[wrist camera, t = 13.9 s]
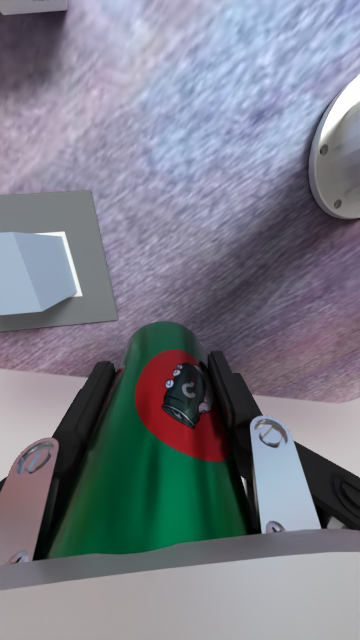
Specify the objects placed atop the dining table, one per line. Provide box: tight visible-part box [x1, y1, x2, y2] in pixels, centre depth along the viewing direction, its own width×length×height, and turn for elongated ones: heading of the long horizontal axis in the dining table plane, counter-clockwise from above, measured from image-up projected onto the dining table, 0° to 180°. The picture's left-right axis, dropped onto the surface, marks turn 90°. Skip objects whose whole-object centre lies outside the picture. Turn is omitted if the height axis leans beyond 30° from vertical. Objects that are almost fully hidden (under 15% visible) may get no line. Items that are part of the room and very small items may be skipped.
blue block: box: [0, 232, 77, 315], centre depth 17 cm, size 6×6×7 cm
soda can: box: [43, 322, 258, 560], centre depth 7 cm, size 5×5×12 cm
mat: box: [0, 190, 119, 332], centre depth 21 cm, size 18×14×1 cm
